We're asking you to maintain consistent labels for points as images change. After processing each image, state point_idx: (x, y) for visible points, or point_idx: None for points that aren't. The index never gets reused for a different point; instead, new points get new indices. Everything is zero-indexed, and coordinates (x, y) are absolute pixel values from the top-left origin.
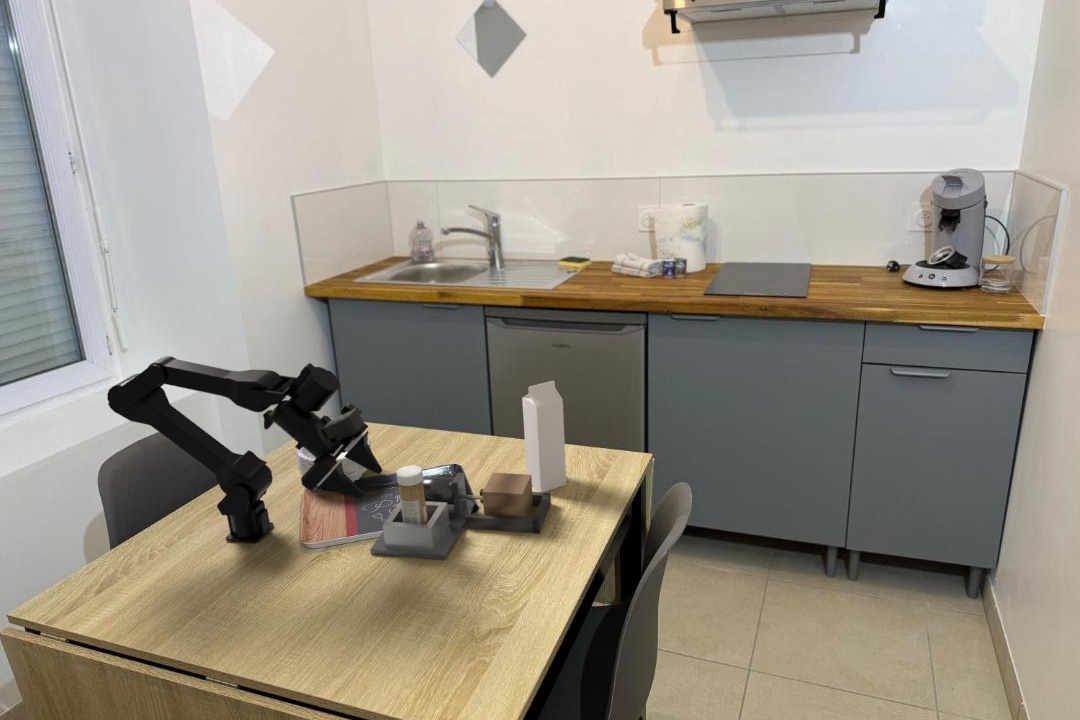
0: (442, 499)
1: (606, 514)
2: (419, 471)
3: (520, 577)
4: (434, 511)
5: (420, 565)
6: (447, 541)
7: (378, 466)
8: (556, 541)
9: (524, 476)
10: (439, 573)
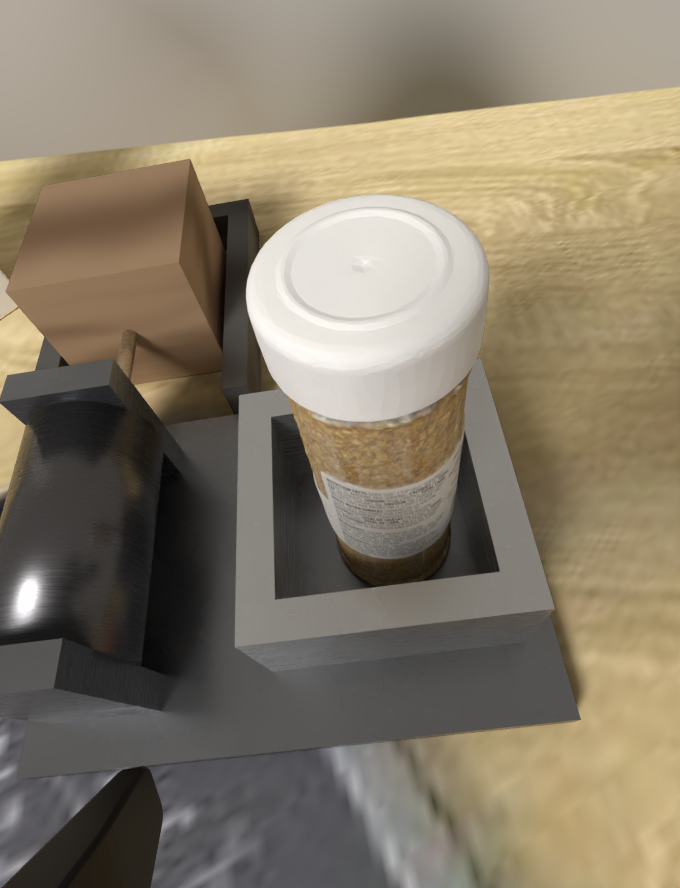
0: (158, 480)
1: (151, 157)
2: (354, 199)
3: (478, 199)
4: (280, 457)
5: (548, 454)
6: None
7: (112, 813)
8: (290, 193)
9: (54, 196)
10: (562, 375)
